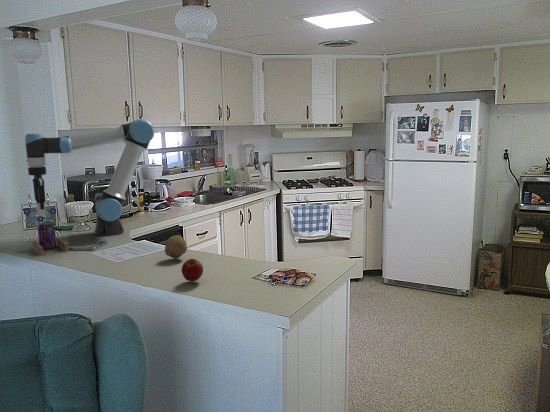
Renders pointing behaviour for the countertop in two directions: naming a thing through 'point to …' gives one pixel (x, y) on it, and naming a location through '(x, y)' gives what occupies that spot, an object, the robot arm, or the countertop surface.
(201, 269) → the apple
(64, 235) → the countertop surface
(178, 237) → the natural sponge
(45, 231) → the beverage can
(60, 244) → the guide channel
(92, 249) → the hinge
